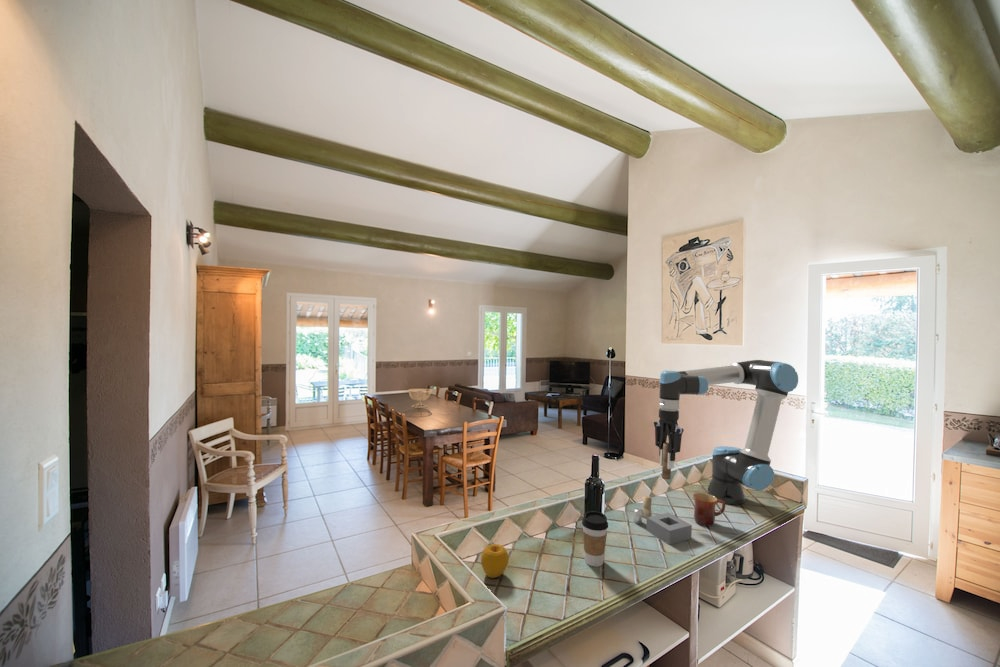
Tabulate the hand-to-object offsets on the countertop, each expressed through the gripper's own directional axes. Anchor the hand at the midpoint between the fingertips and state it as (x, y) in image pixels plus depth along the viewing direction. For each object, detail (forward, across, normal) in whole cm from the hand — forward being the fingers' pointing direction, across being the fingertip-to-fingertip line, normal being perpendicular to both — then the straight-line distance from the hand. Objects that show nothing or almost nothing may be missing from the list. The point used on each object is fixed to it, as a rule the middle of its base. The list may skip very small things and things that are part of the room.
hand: (666, 466), depth 169 cm
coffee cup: (+21, +15, -47) cm, 53 cm away
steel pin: (+21, 0, -14) cm, 25 cm away
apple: (+21, +10, -80) cm, 83 cm away
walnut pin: (+5, 0, 0) cm, 5 cm away
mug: (+21, +10, +12) cm, 26 cm away
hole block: (+21, +11, -10) cm, 25 cm away
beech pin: (+21, -3, -7) cm, 22 cm away
